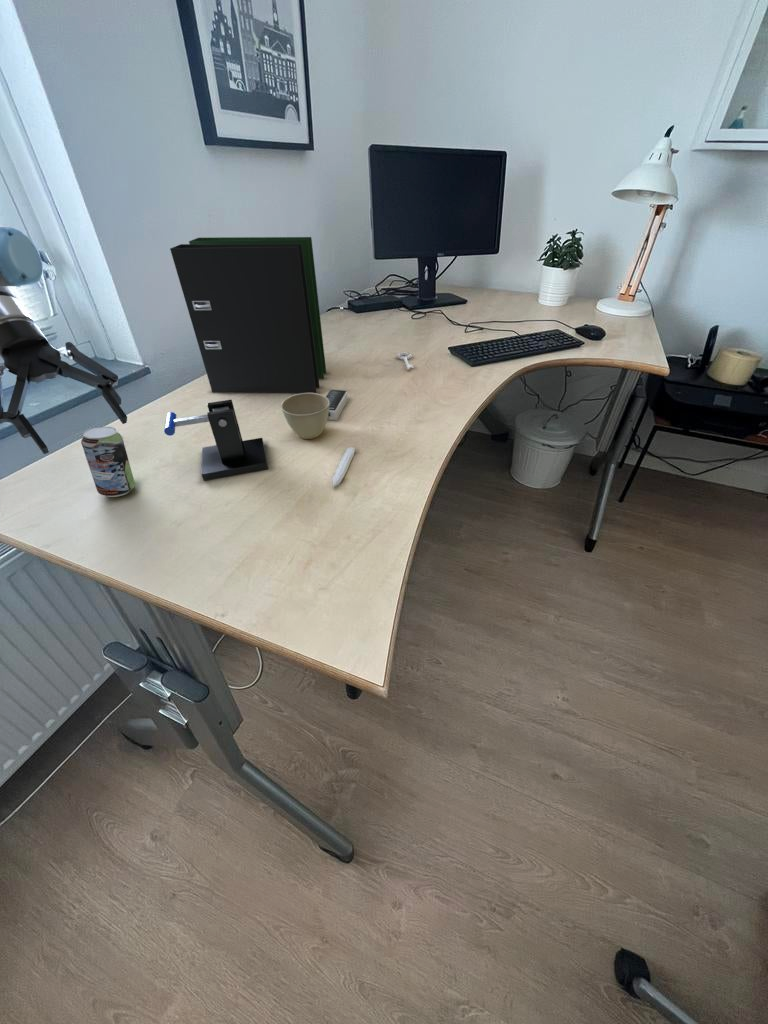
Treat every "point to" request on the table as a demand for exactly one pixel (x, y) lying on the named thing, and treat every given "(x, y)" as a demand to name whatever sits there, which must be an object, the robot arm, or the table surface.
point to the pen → (343, 465)
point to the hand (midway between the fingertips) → (87, 434)
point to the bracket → (230, 446)
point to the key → (405, 359)
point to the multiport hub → (336, 403)
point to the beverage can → (108, 461)
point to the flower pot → (306, 413)
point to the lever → (185, 420)
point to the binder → (254, 312)
